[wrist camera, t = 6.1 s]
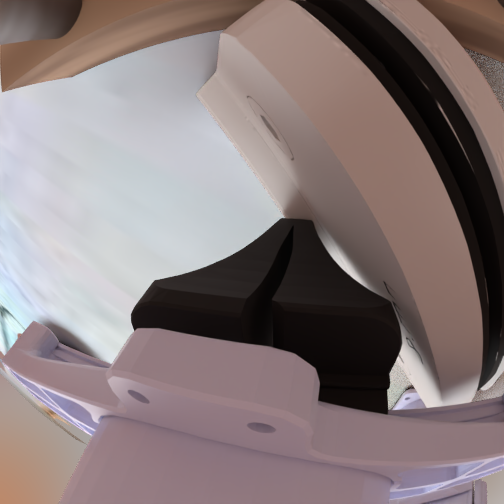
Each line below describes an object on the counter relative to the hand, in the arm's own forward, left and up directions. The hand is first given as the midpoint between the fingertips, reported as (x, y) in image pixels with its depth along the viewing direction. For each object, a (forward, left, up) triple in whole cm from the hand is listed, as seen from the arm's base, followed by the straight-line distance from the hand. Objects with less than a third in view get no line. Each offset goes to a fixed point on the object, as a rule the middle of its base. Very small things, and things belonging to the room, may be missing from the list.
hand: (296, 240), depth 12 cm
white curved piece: (+1, -3, -2) cm, 4 cm away
